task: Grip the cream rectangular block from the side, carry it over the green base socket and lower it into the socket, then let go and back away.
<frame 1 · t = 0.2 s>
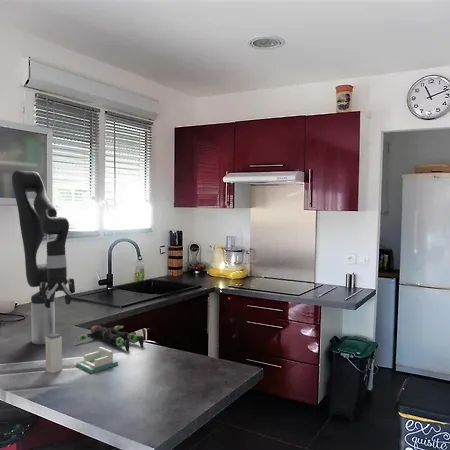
hand: (58, 306, 181), 18 cm above the worktop, tool pointing down, fingers open, 8 cm apart
cream rectangular block: (54, 370, 158), on the worktop
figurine: (112, 342, 192), on the worktop
green base socket: (97, 365, 163), on the worktop
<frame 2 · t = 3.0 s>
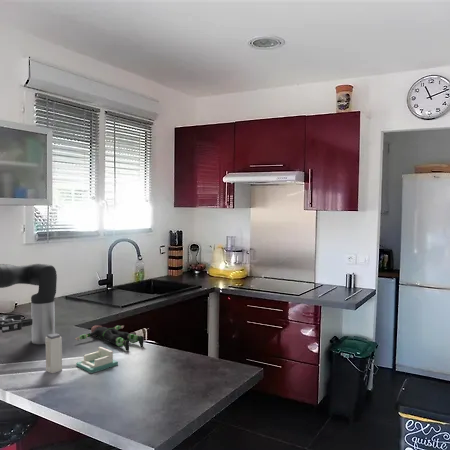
hand: (26, 319, 150), 20 cm above the worktop, tool horizontal, fingers open, 8 cm apart
nothing on the worktop moved.
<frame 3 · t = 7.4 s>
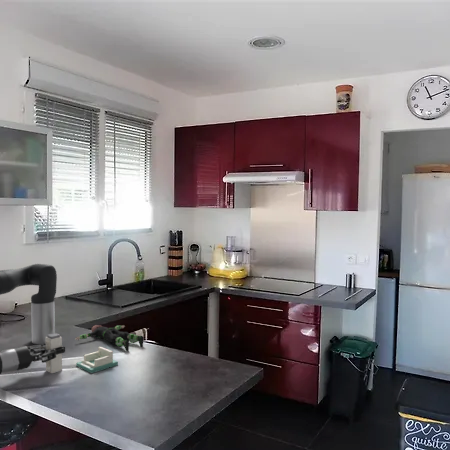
hand: (61, 347, 160), 8 cm above the worktop, tool horizontal, fingers closed on cream rectangular block, 4 cm apart
cream rectangular block: (54, 370, 158), on the worktop, touching gripper
everything else where it was.
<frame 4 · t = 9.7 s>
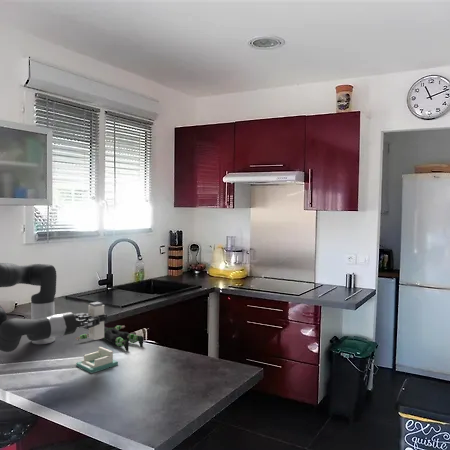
hand: (103, 316, 164), 18 cm above the worktop, tool horizontal, fingers closed on cream rectangular block, 4 cm apart
cream rectangular block: (96, 337, 163), point 10 cm above the worktop, touching gripper
everything else where it was.
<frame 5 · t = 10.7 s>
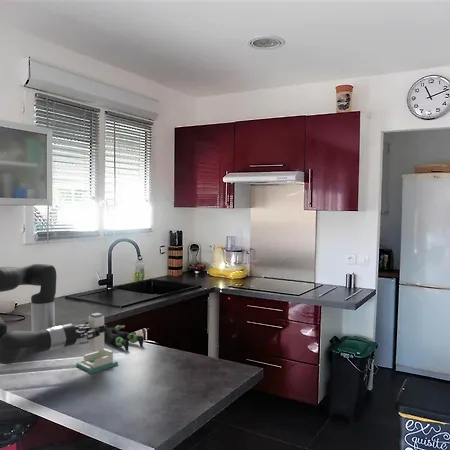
hand: (103, 327, 164), 14 cm above the worktop, tool horizontal, fingers closed on cream rectangular block, 4 cm apart
cream rectangular block: (96, 348, 163), point 6 cm above the worktop, touching gripper
everything else where it was.
when the fingers open (9 cm above the worktop, at t = 12.0 s): cream rectangular block stays where it is, resting on green base socket.
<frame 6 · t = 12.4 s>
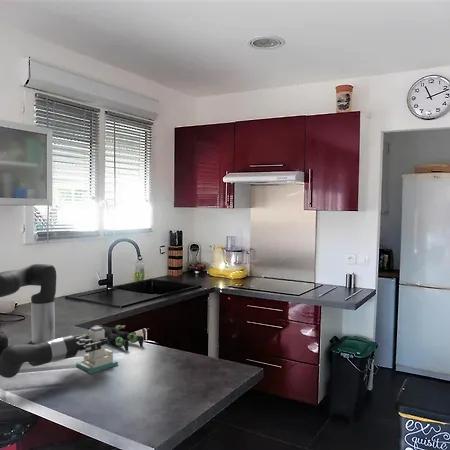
hand: (101, 338, 164), 10 cm above the worktop, tool horizontal, fingers open, 7 cm apart
cream rectangular block: (96, 362, 163), point 1 cm above the worktop, touching green base socket
everything else where it was.
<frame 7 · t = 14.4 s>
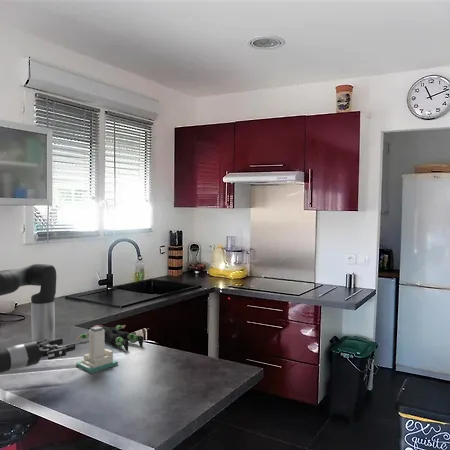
hand: (68, 343, 155), 11 cm above the worktop, tool horizontal, fingers open, 8 cm apart
nothing on the worktop moved.
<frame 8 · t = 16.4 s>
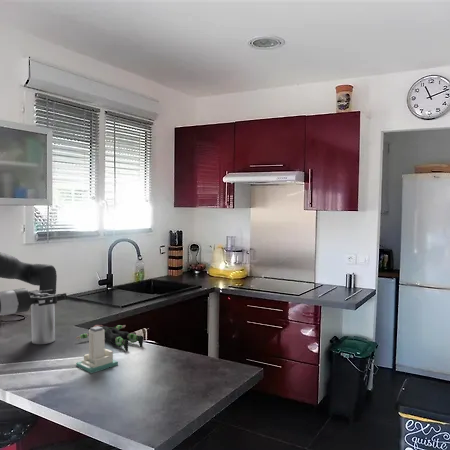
hand: (59, 294, 154), 28 cm above the worktop, tool horizontal, fingers open, 8 cm apart
nothing on the worktop moved.
at the end: cream rectangular block 0.1 cm off-centre on the green base socket, point 1.2 cm above the green base socket's base; cream rectangular block tilted 0°; the gripper is holding nothing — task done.
